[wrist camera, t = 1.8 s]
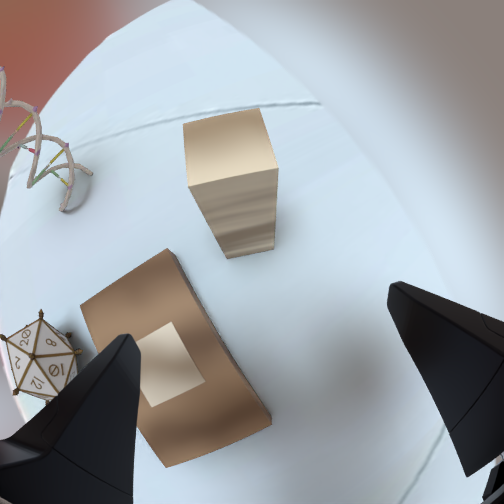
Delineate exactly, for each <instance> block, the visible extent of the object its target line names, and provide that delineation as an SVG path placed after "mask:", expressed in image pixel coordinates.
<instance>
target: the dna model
mask: <svg viewBox="0 0 504 504" xmlns="http://www.w3.org/2000/svg"><path fill="white" fill-rule="evenodd" d="M0 79H1V88H0V120H1V116H2V113H3V108H4V107H22V108H24V109H26V110H27V111H29V112H30V113H31V114H30V115H29V116H28V117H27V118H26V119H25V120H24V121H23V122H22V124H21V125H20V126H19V127H18V128H17V130H19V129H20V128H21V127H22V126H23V125H24V123H25V122H27V120H28V119H29V118H30V117H31V116H32V115H33V118H34V121H35V124H36V135H34V136H30V137H27V138H25V139H23V140H20V141H18V142H16V143H14V144H13V145H11V146H9V147H7V148H6V149H4V150H3V148H4V147H5V146H6V144H7V143H8V142H9V141H10V139H11V138H12V137H13V136H14V134H12V135H11V136H10V137H9V138H8V140H7V141H6V142H5V143H4V145H3V146H2V147H1V148H0V157H2V156H4V155H5V154H7V153H8V152H10V151H12V150H13V149H15V148H19V146H20V147H22V148H24V149H28V148H27V146H25V145H23V144H26V143H28V142H31V141H34V140H36V143H35V150H34V149H32V148H29V151H30V152H32V153H34V159H33V164H32V168H31V171H30V175H29V178H28V182H27V188H31V187H32V186H33V185H34V184H36V183H37V182H38V181H39V180H41V179H42V178H43V177H45V176H46V175H47V174H49V173H53V174H54V175H55V176H56V177H59V175H58V174H57V173H56V172H54V171H55V170H58V169H61V168H69V182H68V183H67V182H66V181H64V180H63V179H62V178H60V177H59V178H60V179H61V181H62V182H63V183H64V184H66V185H67V186H68V190H67V193H66V196H65V200H64V202H63V203H62V204H61V207H60V208H59V211H61V212H62V211H63V210H64V209H65V207H66V206H67V204H68V201H69V199H70V196H71V193H72V188H73V184H74V180H75V177H74V168H77V169H81V170H82V171H84V172H85V173H87V174H88V175H90V176H91V175H92V174H93V172H91V171H90V170H88V169H87V168H85V167H84V166H82V165H81V164H76V163H74V161H73V158H72V155H71V153H70V150H69V143H65V142H63V141H62V140H61V139H59V138H58V137H53V136H48V135H43V134H42V127H41V121H40V117H39V115H38V114H37V106H36V107H32V106H30V105H28V104H26V103H24V102H22V101H12V98H11V99H10V100H9V101H8V102H5V95H6V75H5V72H4V67H1V66H0ZM4 102H5V103H4ZM42 140H50V141H54V142H56V143H58V144H59V145H60V146H61V147H62V148H63V149H62V150H61V151H60V152H59V153H58V154H57V155H56V156H55V157H54V158H53V159H52V160H51V161H50V163H51V164H52V163H53V162H54V161H55V160H56V159H57V157H58V156H59V155H60V154H61V153H62V152H63V151H65V153H66V156H67V160H68V163H64V164H60V165H57V166H54V167H51V168H50V169H48V170H47V171H45V170H46V169H47V168H48V167H49V166H50V165H51V164H50V163H49V164H50V165H49V164H48V165H47V166H46V167H45V168H44V169H43V170H42V171H41V173H40V174H39V175H38V176H36V177H35V179H34V176H35V173H36V169H37V164H38V159H39V155H40V150H41V142H42ZM2 150H3V151H2Z"/></svg>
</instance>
